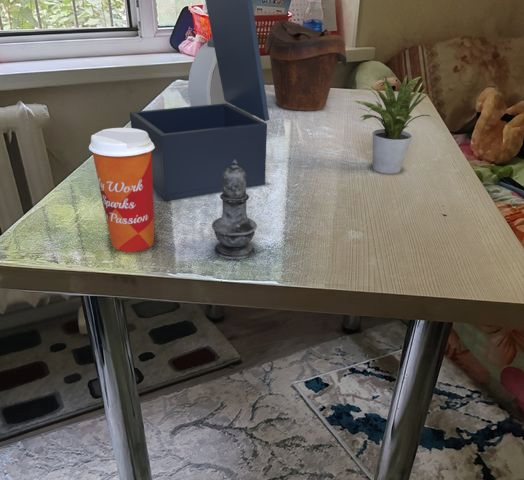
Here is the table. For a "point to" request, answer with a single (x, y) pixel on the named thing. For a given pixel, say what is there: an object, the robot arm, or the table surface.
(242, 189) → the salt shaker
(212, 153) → the dark blue open box
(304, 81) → the brown bucket
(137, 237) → the paper cup
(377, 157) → the house plant
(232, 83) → the lid
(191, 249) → the table surface
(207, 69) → the alarm clock
